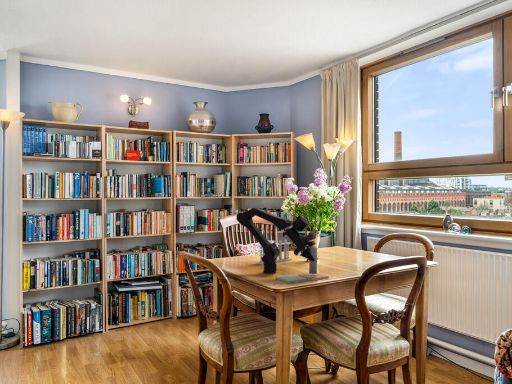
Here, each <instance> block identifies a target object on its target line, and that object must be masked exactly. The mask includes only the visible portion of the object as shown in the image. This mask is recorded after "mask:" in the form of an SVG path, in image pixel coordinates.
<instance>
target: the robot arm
mask: <svg viewBox="0 0 512 384" xmlns="http://www.w3.org/2000/svg"><path fill="white" fill-rule="evenodd" d="M255 216H256V217H258V218H260V219H263V220H265V221H267V222H269V223H271V224H273V226H274V227H276V228H277V229H278V230H282V238H284V237H285V238H286V237H288V239H289V240H290V241H291V243H292V245H294V246H295V247H296V248H295V249H294V250H293V254H294V255H295V256H296V257H298V256H299V257H303V258H304V259H306V260H308V261H309V260H311V261H313V262H314V261H315V259H314V258H313V256H312V255H311V253H310V252H309V248H310V247H311V246H312V245H314V246H316V241H314V240H316V239H317V238H316V234H315V232H313V231H311V232H308V233H307V235H304V234H300V232H303V231H304V230H305V229H306V228H307V227H308V226H309V225H310V222H309V220H307V218H305V217H304V216H302V215H298V216H297V217H296V219H295V220H291V219H289V218H287V217H282V216H277V215H276V214H275V215H274V214H272V213H270V212H268V211H265V210H263V209H261V208H259V207H258V206H257V207H252V208H251V209H249V210H245V211H242V212H238V213H237V214H236V218H235V219H236V221H237V222H238V223H239V224H240V225H241V226H243V227H244V228H246V229H247V230H248V232H250V234H251V235H252V236H253V237H254V239H255V240H256V241H257V243H258V244H259V245H261V246H262V253H263V252H264V254H265V255H264V256H263V257H262V258H261V259H262V262H264V264H263V271H262V272H263V274H276V273H277V262H276V263H275V260H277V259H278V258H279V255H280V250H279V246H278V245H276V244H275V243H274V242H271V243H270V242H269V241H270V240H268V239H267V237H266V236H265V235H264V234H263V232H261V230H260V229H259V227H257V225H256V224H255V223H254V217H255ZM283 230H285V231H283ZM318 259H319V258H318V257H317V261H318Z"/></svg>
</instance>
